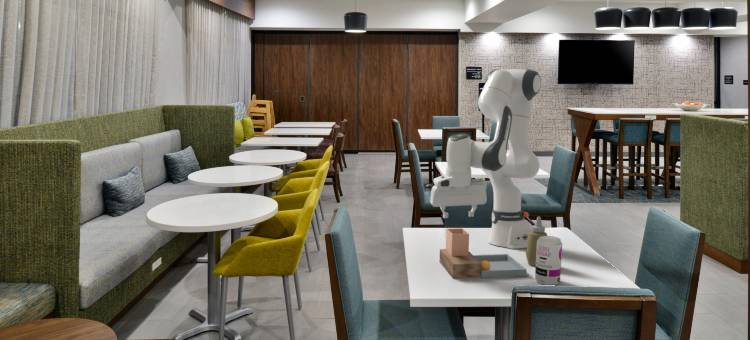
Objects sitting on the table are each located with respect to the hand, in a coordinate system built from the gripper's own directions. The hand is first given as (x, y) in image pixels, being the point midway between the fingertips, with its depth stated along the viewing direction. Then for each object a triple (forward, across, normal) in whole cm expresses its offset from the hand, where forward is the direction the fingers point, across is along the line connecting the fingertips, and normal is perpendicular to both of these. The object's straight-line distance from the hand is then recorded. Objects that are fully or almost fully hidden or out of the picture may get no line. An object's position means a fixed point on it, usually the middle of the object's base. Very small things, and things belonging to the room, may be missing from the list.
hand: (458, 217), depth 207 cm
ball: (+16, -7, +10) cm, 20 cm away
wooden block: (+18, +1, +5) cm, 19 cm away
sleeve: (+13, +1, +1) cm, 13 cm away
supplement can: (+19, -25, +21) cm, 38 cm away
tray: (+18, -12, +6) cm, 23 cm away
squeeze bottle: (+19, -29, +3) cm, 35 cm away
